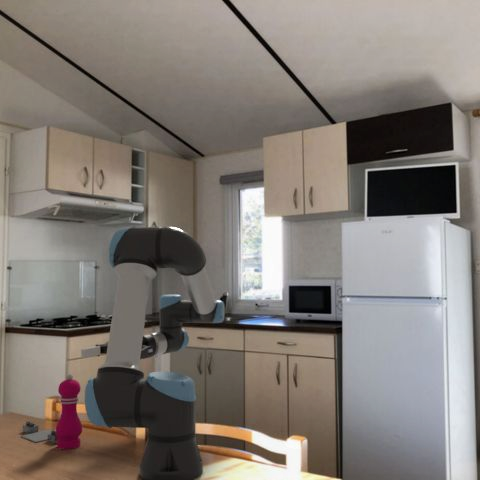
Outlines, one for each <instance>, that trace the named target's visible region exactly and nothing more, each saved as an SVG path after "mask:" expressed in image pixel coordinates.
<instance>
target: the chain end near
mask: <svg viewBox="0 0 480 480" xmlns="http://www.w3.org/2000/svg"><path fill="white" fill-rule="evenodd" d="M51 430H52V431H51V433H50V434H48V440H47V442H49V443H51V444H54V445H55V444H56V445H57V441H58V440H59V438H58V437H57V435H56V433H55V431H56V429H54V430H53V429H51Z"/></svg>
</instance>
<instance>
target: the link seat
mask: <svg viewBox="0 0 480 480" xmlns="http://www.w3.org/2000/svg"><path fill="white" fill-rule="evenodd" d="M52 430H53V429H46V430H43V431H42V430H41V431H38V432H36V433H32V434H27V433H26V434H23V435H21V436H20V437H21V438H22V439H25V440H27V441H30V442H33V443H36V444H37V443H40V442H41V443H42V442H45V441H48V434H50V433H51V431H52Z"/></svg>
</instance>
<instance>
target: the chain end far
mask: <svg viewBox="0 0 480 480" xmlns="http://www.w3.org/2000/svg"><path fill="white" fill-rule="evenodd" d="M39 427H40V426H39V425H38V424H36V422H32V421H26V423H25V424H22V432H23V433H25V434H26V435H27V434H32V433H36V432H39Z"/></svg>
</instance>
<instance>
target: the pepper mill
mask: <svg viewBox="0 0 480 480" xmlns="http://www.w3.org/2000/svg"><path fill="white" fill-rule="evenodd" d="M65 378H66V379H65V380H62V381H61V382H60V384H59V385H58V389H57V390H58V392H57V393H58V394H59V396H61V397H59V398H60V399H59V400H60V401H59V403H60V404H61V413H60V417H59V419H58V421H57V423H56V426H55V430H56V431H55V433H56V435H57V437H58V438H59V440H58V441H57V443H56V448H58V449H59V450H72V449H73V450H74V449H76V448H78V447H80V446H81V438H80V436H81V434H82V433H83V425H82V422H81V420H80V419H81V418H80V417H79V415H78V409H77V405H78V403H79V396H78V395H79V394H80V392H81V390H82V389H81V385H80V382H79V381H78V380H76V379H74V375H73V374H71V373H68V374H67V375H66V377H65Z"/></svg>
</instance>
